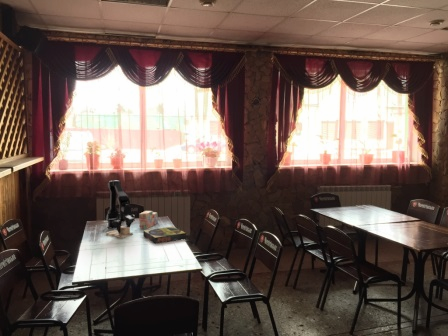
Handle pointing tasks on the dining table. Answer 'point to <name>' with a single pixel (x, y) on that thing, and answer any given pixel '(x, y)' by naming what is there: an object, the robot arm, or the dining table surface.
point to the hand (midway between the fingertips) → (124, 232)
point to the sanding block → (125, 230)
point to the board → (117, 234)
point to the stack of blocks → (148, 219)
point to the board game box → (164, 234)
